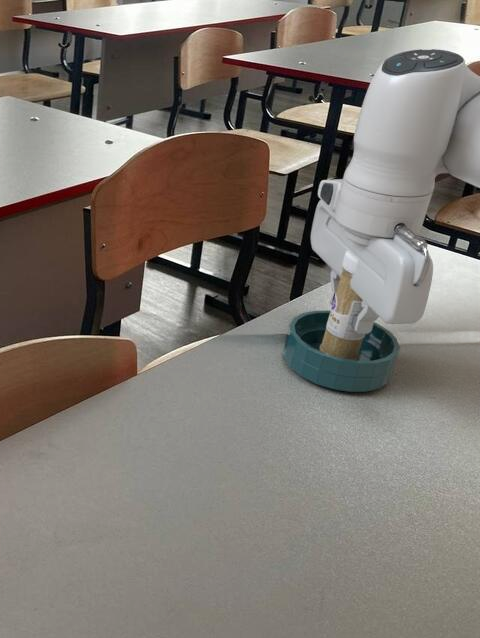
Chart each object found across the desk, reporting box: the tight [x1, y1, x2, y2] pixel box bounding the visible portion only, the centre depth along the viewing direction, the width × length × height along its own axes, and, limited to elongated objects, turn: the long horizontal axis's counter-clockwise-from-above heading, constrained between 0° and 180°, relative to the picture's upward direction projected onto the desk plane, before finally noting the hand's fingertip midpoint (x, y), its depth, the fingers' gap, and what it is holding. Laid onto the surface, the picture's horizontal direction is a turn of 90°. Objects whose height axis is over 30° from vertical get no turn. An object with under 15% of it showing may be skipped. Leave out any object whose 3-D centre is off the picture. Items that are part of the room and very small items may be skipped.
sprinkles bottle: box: [319, 251, 365, 360], centre depth 88 cm, size 5×5×13 cm
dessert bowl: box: [282, 309, 401, 393], centre depth 92 cm, size 12×12×4 cm
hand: (348, 318), depth 89 cm, fingers closed on sprinkles bottle, 4 cm apart
